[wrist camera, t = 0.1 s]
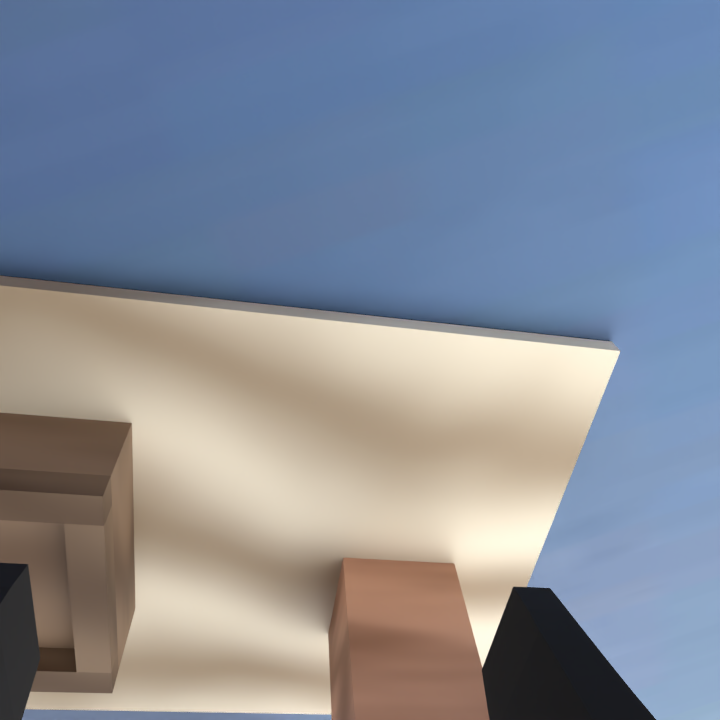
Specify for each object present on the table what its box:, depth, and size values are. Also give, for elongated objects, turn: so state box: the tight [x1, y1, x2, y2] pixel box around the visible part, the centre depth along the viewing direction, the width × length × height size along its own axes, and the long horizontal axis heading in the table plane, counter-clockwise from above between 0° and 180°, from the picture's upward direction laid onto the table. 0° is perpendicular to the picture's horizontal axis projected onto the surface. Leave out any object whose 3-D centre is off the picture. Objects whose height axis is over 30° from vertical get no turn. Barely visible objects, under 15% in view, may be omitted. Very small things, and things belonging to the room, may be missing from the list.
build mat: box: [0, 276, 620, 714], centre depth 20 cm, size 18×25×4 cm
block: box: [328, 558, 489, 720], centre depth 21 cm, size 4×4×6 cm
